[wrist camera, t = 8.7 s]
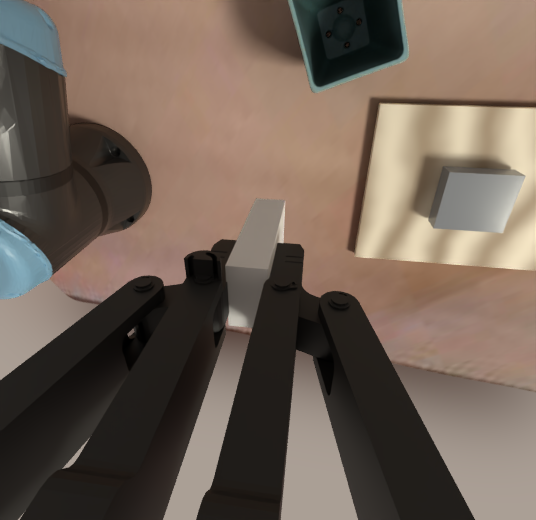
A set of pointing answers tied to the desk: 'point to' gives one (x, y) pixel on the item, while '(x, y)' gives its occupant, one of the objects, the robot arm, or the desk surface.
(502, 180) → the tile
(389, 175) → the board
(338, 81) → the flower pot
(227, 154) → the desk surface
